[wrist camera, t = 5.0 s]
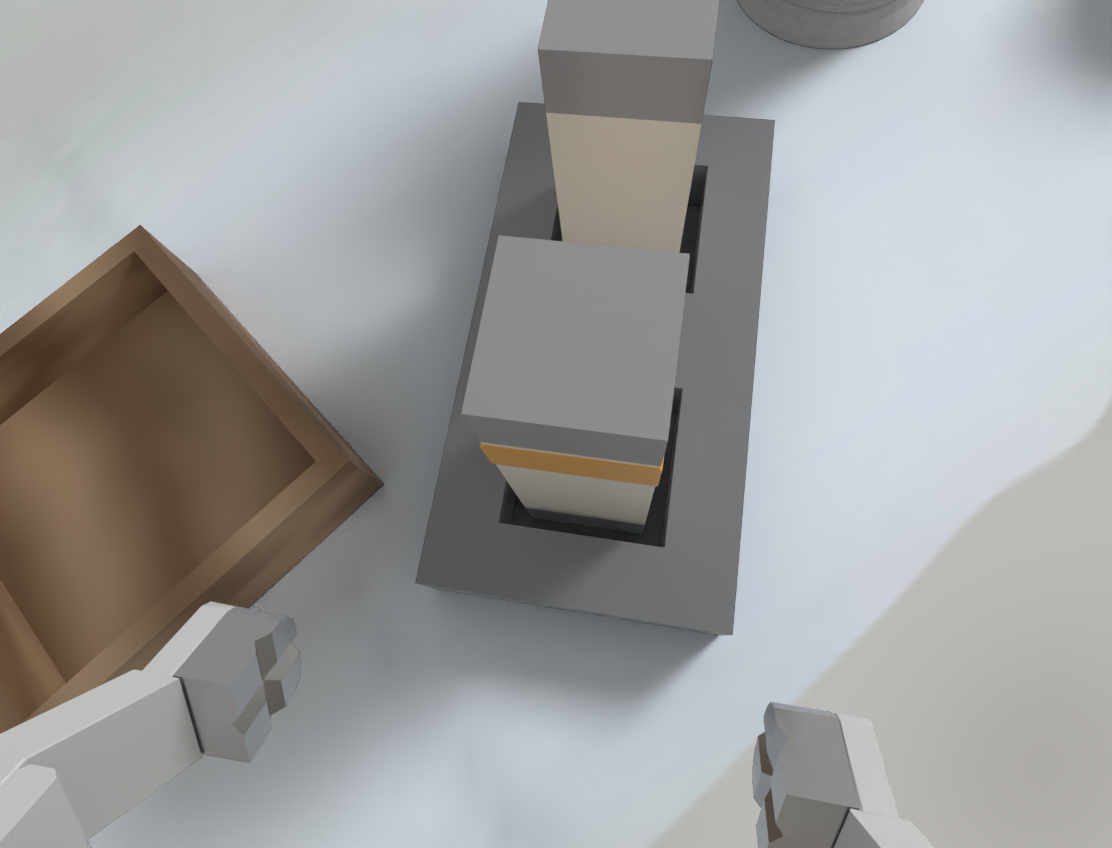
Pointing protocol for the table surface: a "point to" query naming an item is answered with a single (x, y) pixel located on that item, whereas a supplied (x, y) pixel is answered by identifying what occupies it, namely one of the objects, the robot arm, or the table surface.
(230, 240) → the table surface
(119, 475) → the tray
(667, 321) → the block
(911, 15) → the grey mug
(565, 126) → the block
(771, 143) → the fuse block
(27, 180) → the table surface
